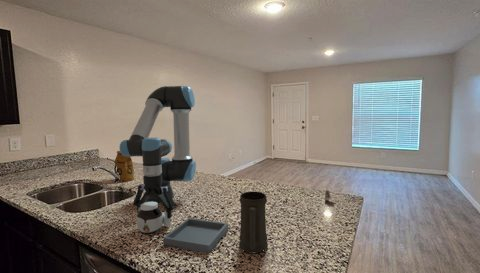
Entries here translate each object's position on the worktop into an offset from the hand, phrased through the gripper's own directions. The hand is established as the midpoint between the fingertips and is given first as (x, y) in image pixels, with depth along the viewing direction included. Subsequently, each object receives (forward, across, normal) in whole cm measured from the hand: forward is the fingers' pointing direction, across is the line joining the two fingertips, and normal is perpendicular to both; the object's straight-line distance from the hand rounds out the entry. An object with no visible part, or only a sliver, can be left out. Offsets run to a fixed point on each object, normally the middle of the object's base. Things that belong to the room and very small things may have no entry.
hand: (154, 223), depth 110 cm
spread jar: (+3, 0, 0) cm, 3 cm away
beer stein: (+3, +45, -3) cm, 45 cm away
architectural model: (+3, +71, +56) cm, 90 cm away
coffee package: (+3, -72, +62) cm, 95 cm away
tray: (+3, +21, -1) cm, 21 cm away
